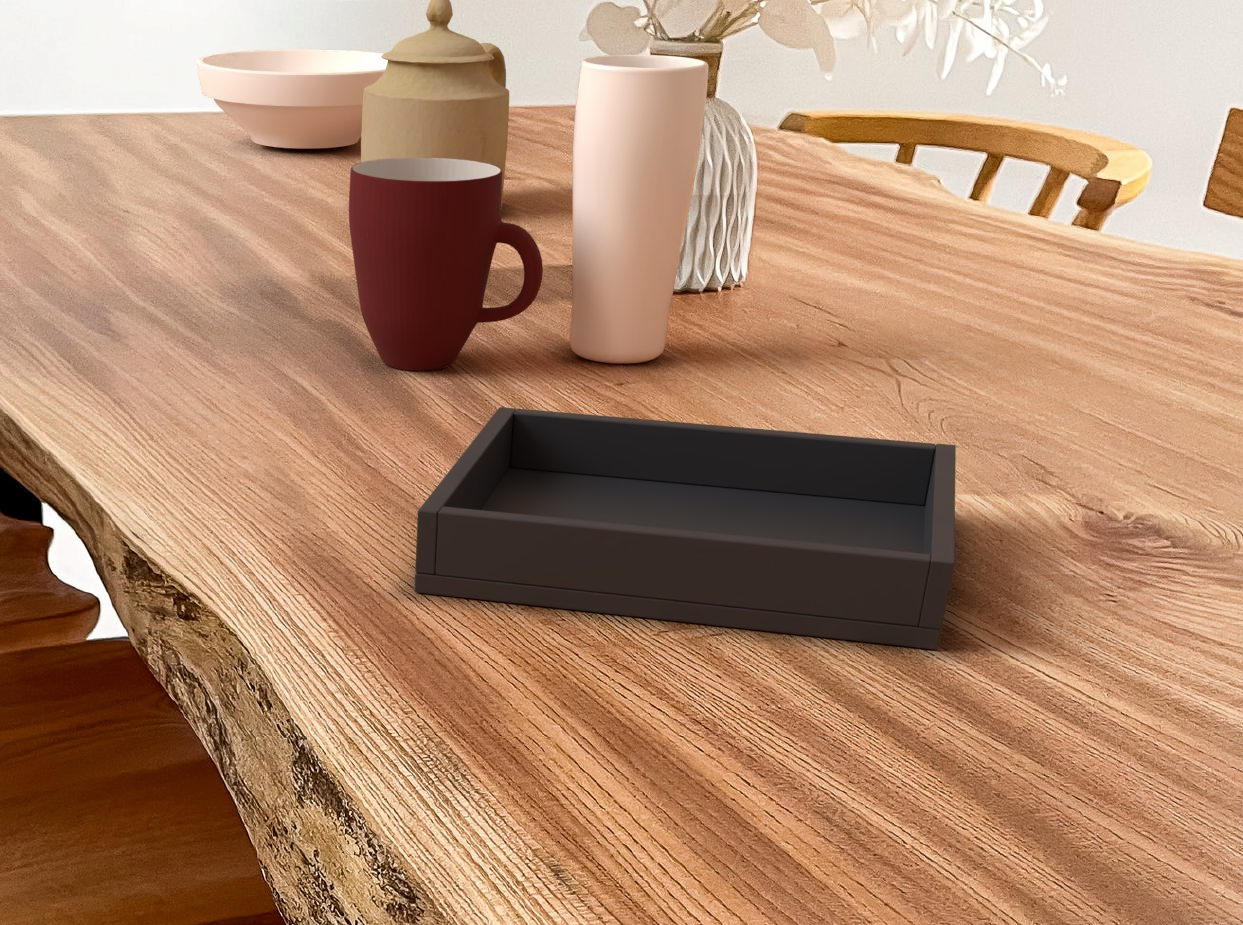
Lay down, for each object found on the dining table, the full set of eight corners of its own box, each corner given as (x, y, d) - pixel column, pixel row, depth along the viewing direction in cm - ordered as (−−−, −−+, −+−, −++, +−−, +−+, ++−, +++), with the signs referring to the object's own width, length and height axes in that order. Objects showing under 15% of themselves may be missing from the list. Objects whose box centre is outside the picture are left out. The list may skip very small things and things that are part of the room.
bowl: (343, 170, 162) (345, 78, 159) (156, 151, 171) (153, 63, 167) (449, 141, 176) (453, 57, 173) (271, 125, 185) (271, 44, 182)
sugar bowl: (365, 187, 155) (370, -20, 147) (500, 189, 154) (514, -19, 146) (356, 220, 142) (361, -5, 134) (504, 223, 141) (518, -3, 134)
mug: (539, 350, 108) (554, 161, 102) (531, 386, 101) (546, 185, 96) (355, 342, 109) (360, 155, 104) (335, 376, 102) (339, 178, 97)
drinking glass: (649, 375, 103) (682, 71, 95) (535, 359, 106) (558, 62, 98) (695, 350, 108) (729, 59, 100) (585, 335, 111) (610, 51, 103)
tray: (941, 521, 82) (955, 444, 80) (937, 650, 69) (954, 563, 67) (494, 479, 87) (499, 406, 85) (413, 592, 74) (417, 509, 72)
